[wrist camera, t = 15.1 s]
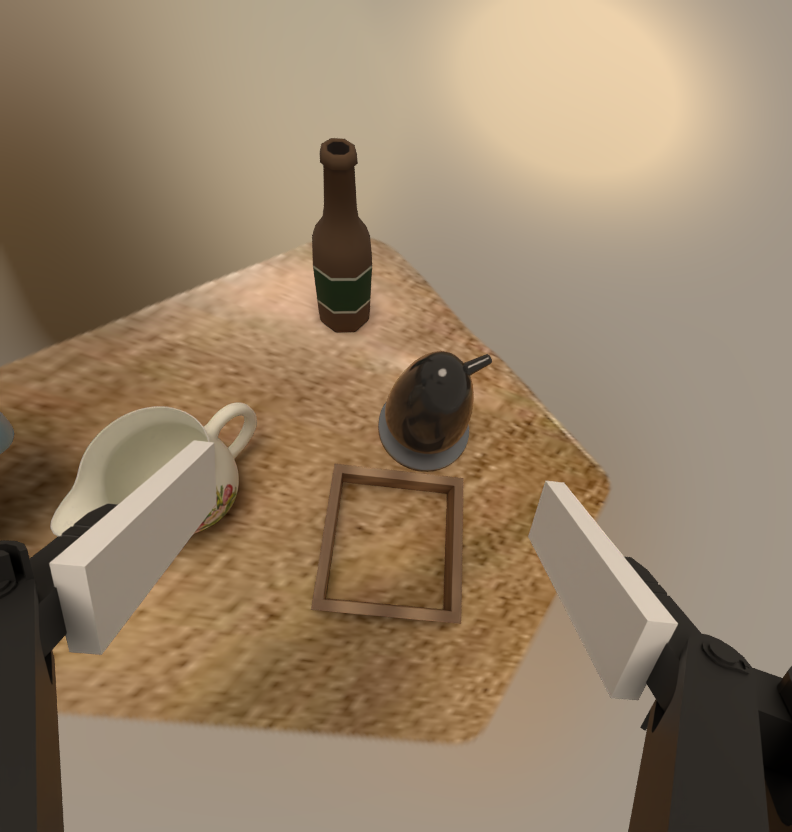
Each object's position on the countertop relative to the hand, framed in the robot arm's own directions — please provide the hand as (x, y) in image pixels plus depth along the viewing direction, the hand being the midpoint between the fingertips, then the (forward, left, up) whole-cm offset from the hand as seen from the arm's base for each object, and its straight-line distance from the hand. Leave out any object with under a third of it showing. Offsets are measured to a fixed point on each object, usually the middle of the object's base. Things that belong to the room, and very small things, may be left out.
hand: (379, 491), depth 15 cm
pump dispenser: (+6, +17, -31) cm, 36 cm away
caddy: (+3, +2, -32) cm, 32 cm away
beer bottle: (-7, +34, -32) cm, 47 cm away
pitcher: (-19, +6, -32) cm, 38 cm away
